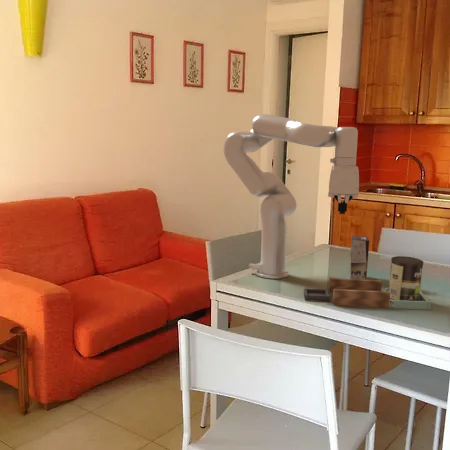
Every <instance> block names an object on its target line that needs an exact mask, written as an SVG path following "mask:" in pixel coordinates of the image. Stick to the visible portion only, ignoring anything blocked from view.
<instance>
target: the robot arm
mask: <svg viewBox="0 0 450 450" xmlns="http://www.w3.org/2000/svg"><path fill="white" fill-rule="evenodd" d="M358 133H359V131H358V129H357V127H353V126H339V127H337V126H333V125H332V126H331V125H318V124H311V123H305V122H300V121H297V120H296V119H294V118H290V117H285V116H277V115H275V114H267V113H266V114H263V113H261V114H257V115H256V116H255V117H254V118H253V119H252V122H251V130H248V131H247V130H239V131H237V130H236V131H233V132H231V133H229V134H228V135H227V137H226V138H225V140H224V143H223V154H224V158H225V160H226V161H227V164H228V165H229V166H230V168H231V169H232V170H233V171H234V173H235V174H236V176H237V177H238V178H239V180H240V181H241V183H242V184H243V185H244V186H245V188H246V189H247V190H248V191H249V193H250V194H251V195H252V196H253V197H254V198H255V197H256V198H263V197H265V198H264V199H263V200H262V201H261V203H260V211H259V212H260V219H261V244H260V245H261V248H260V250H261V251H260V261H259V262H258V263H249V264H248V269H251V270H256V275H257V276H258V277H261V278H265V279H270V280H271V279H275V280H277V279H284V278H288V277H289V274H290V272H289V271H288V270H286V252H287V248H286V247H287V223H286V218H287V217H289V216H290V217H291V216H292V215H293V214H294V213H296V211H297V200H296V198H295V196H294V195H293V194H292V192H291V191H290V190H289V188H288V187H287V185H285V183H284V182H283V180H282V179H281V178H280V177H279V176H278V175H277V174H276V173H274V172H270V171H265V172H264V171H262V170H261V169H260V167H259V166H258V165H257V163H256V162H255V161H254V159H252V158H251V157H250V156H249V155H248V153H250V154H251V153H254V152H257V151H259V150H260V149H261V148H263V147H264V146H265V145H267V144H268V143H270V142H271V141H273V140H278V141H283V142H288V143H294V144H298V145H303V146H307V147H313V148H332V147H334V157H333V158H329V162H330V163H331V164H333V165H332V166H331V171H330V175H329V176H330V177H329V183H328V193H327V196H328V197H329V198H333V199H335V201H337V212H339V215H345V214H346V212H347V211H348V204H349V202H350V201H351V200H352V199H358V198H359V191H360V189H359V188H360V187H359V186H360V173H359V172H360V171H359V166H357V152H358V151H357V150H358V135H359V134H358ZM342 196H344V199H343V200H342Z"/></svg>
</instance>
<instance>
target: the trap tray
mask: <svg viewBox="0 0 450 450" xmlns="http://www.w3.org/2000/svg"><path fill="white" fill-rule="evenodd" d="M329 294H330V293H329V290H328V289H324V288H307V287H306V288H305V287H304V288H303V297H304V301H308V300H313V301H314V302H330V295H329Z"/></svg>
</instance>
